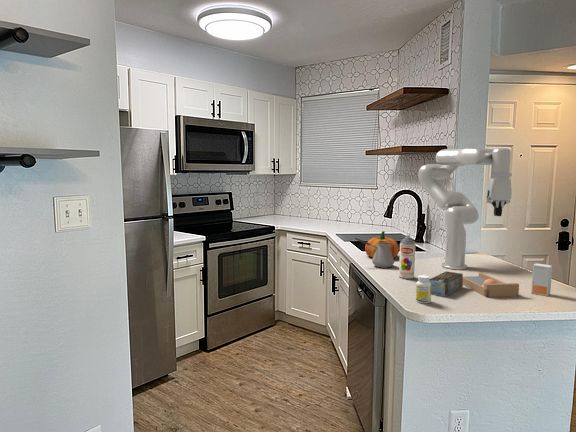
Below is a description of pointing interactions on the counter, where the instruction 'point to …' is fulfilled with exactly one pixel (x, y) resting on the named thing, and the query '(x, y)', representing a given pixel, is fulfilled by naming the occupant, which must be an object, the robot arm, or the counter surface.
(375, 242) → the pumpkin
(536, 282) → the skincare box
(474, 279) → the lane
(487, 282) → the ball
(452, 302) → the counter surface
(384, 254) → the coffee pot
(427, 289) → the supplement bottle
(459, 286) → the beverage carton
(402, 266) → the aerosol can
